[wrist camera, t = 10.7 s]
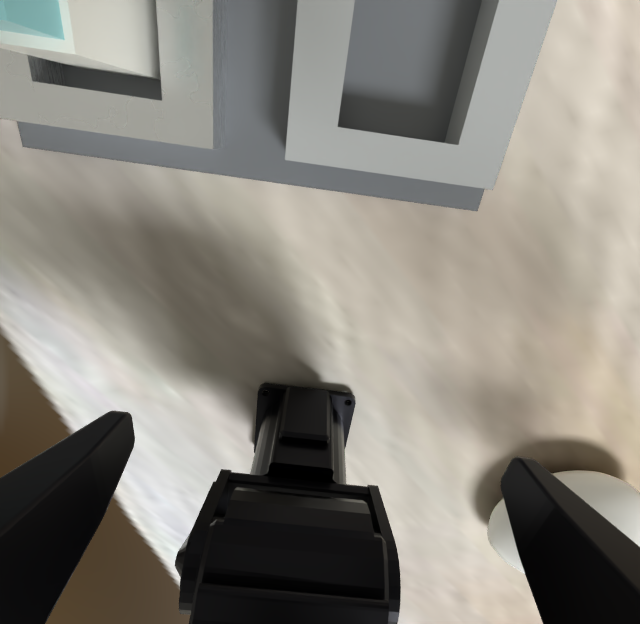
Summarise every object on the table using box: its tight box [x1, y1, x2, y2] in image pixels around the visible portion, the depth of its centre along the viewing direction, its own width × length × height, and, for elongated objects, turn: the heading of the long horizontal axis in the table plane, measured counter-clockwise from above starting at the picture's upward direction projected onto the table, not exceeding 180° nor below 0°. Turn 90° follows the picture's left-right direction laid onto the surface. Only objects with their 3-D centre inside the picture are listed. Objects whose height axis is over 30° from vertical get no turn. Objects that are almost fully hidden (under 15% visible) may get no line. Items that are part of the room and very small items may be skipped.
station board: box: [17, 0, 484, 211], centre depth 15 cm, size 22×12×1 cm, turn 82°
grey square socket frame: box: [285, 0, 557, 190], centre depth 14 cm, size 9×10×2 cm
